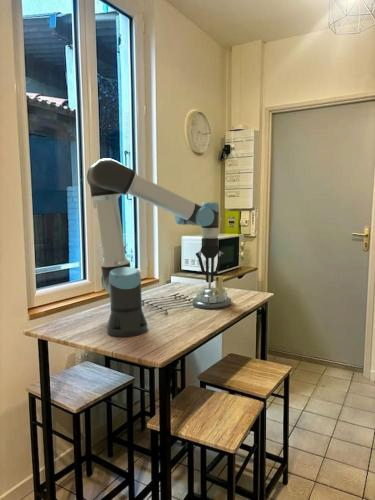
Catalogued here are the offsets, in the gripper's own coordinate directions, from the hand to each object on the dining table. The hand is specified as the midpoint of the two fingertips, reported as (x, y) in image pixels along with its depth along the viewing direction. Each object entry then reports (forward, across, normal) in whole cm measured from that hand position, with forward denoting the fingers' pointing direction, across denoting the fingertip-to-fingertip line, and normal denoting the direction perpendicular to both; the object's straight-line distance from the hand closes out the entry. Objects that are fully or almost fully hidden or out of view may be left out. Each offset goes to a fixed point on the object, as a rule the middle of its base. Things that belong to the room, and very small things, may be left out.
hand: (209, 289), depth 174 cm
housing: (+8, +1, +5) cm, 10 cm away
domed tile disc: (+6, +1, +5) cm, 8 cm away
